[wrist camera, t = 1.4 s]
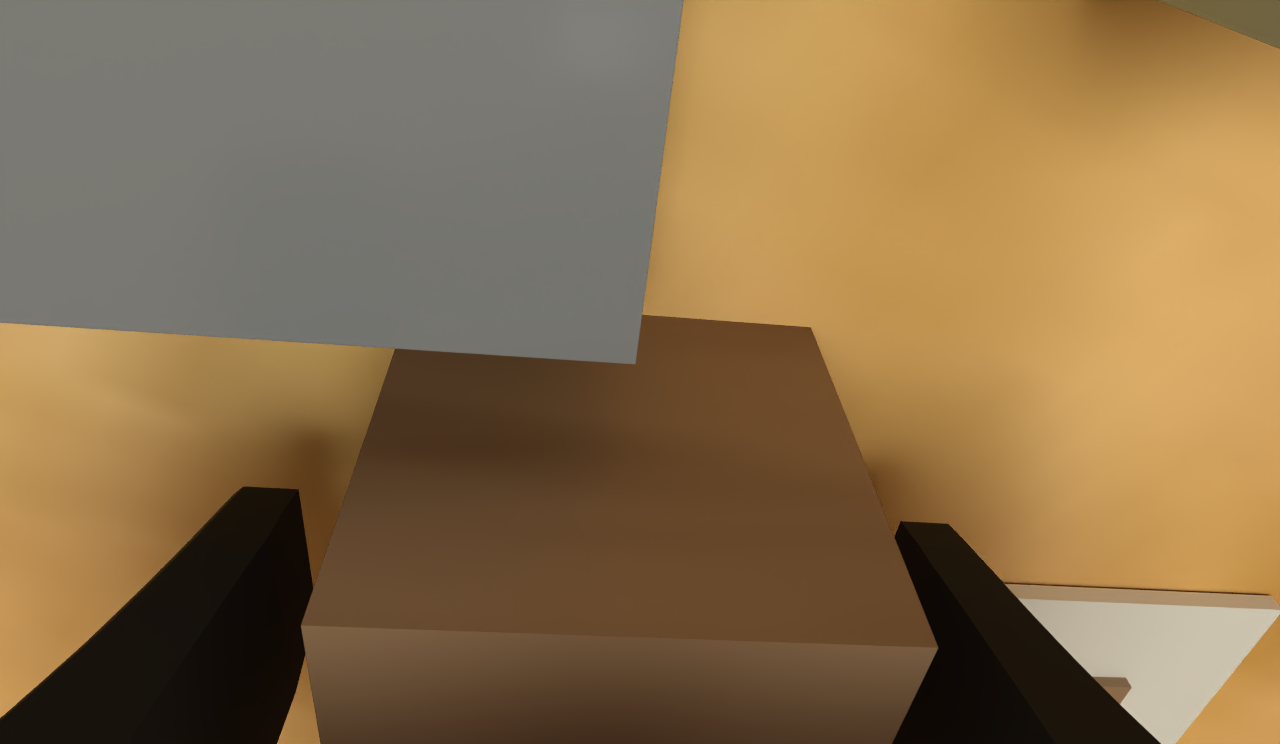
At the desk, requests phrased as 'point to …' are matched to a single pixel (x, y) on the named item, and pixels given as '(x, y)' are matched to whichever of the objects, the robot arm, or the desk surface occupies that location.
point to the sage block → (1239, 16)
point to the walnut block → (615, 555)
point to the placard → (1153, 644)
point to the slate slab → (336, 169)
